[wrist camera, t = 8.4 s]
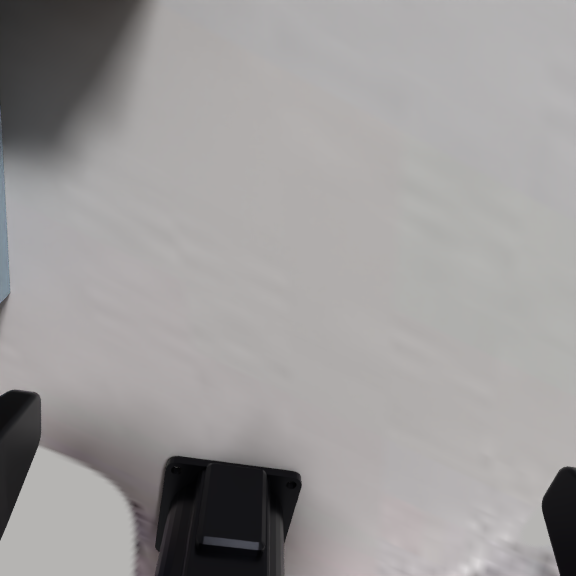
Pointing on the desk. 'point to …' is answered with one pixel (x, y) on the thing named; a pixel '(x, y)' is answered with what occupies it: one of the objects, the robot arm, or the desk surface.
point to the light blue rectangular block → (3, 231)
